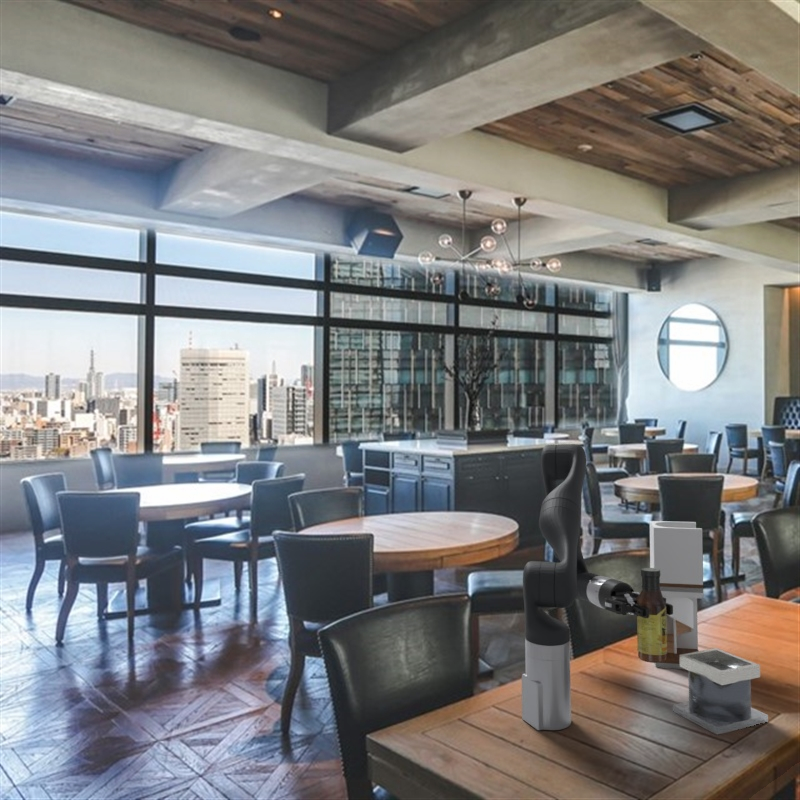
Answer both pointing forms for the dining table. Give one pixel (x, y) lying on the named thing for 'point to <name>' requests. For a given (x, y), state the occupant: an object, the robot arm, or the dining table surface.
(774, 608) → the dining table surface
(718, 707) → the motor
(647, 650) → the sauce bottle
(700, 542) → the white tower
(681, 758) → the dining table surface
